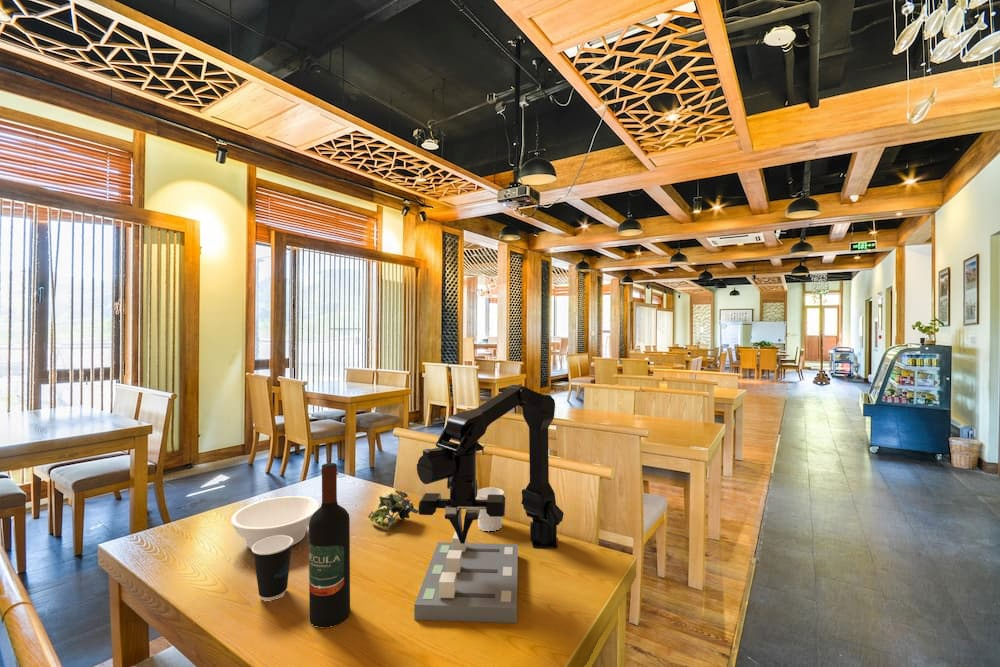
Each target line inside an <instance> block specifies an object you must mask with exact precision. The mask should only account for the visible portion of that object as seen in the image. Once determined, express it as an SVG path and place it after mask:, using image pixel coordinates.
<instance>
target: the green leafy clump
mask: <svg viewBox="0 0 1000 667" xmlns="http://www.w3.org/2000/svg"><path fill="white" fill-rule="evenodd" d="M395 493H396V494H395ZM395 493H392V492H391V493H389V494H386V495H385V496H381V495H379V496H378V497H379V502H380V503H379V504H378V507H377V509H376V510H375V511H372V510H371V511H370V513H369V515H368V519H370V521H371V522H375V523H376V521H377V522H378V520H379V519H380V526H381V527H384V521H385V519H387V523H388V526H387V529H386V531H387V530H389V529H390V527H391V525H392V524H393V522H395V521H396V518H397V517H399V519H400V520H405V519H410V513H411V512H412V514H413V513H414V514H419V509H415V508H414V503H412V502H410V501H411V499H408V498H409V494H408V493H406V492H405V491H402V490H395ZM405 498H406V499H405ZM382 507H383V508H382ZM390 512H391V513H390ZM396 513H397V514H396ZM394 514H395V516H394Z"/></svg>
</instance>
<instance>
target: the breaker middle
mask: <svg viewBox="0 0 1000 667" xmlns="http://www.w3.org/2000/svg"><path fill="white" fill-rule="evenodd" d="M461 566H462V550H449V551H448V554H447V557H446V572H455V573H460V570H461Z"/></svg>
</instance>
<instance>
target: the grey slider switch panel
mask: <svg viewBox="0 0 1000 667" xmlns="http://www.w3.org/2000/svg"><path fill="white" fill-rule="evenodd" d="M518 548H519V545H518V543H491V542H490V543H489V542H488V543H487V542H486V543H484V542H483V543H482V542H467V547H466V551H465V552H462V566H461V570H460V573H456V592H455V596H454V598H439V580H440V577H441V574H442V572H446V557H447V554H448V551H449V550H453V541H451V542H448V541H446V542H445V541H438V542H437V545H436V547H435V549H434V551H433V552H434V553H433V555H432V558H431V560H430V562H429V565H428V568H427V571H426V573H425V575H424V578H423V581H422V584H421V586H420V589H419V592H418V593H417V597H416V599H415V602H414V605H413V606H414V608H413V610H414V614H413V615H414V617H413V619H414V621H415V620H416V621H436V622H437V621H439V622H443V621H444V622H467V623H473V622H474V623H495V624H496V623H498V624H499V623H502V624H517V623H518V572H519V571H518V568H519V566H518V564H519V560H518V557H519V556H518V555H519V550H518Z"/></svg>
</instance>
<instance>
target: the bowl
mask: <svg viewBox="0 0 1000 667" xmlns="http://www.w3.org/2000/svg"><path fill="white" fill-rule="evenodd" d="M320 507H321V504H320V503H319V501H318V500H316V499H315V498H313V497H310V496H309V497H308V496H302V495H287V496H278V497H272V498H267V499H263V500H260V501H257V502H254V503H250V504H248V505H246V506H244V507H242V508H240V509H239V510H237V511H236V512H235V513H234V514H233V515H232V516H231V518H230V523H231V525H232V526H233V528H234V530H235V531H236V533H237V535H239V536H240V537H241V538H244V540H245V541H246V544H247V545H246V546H247V547H248V548H249V549H250V550H252V546H253V545H254V544H255V543H256V542H258V541H260V540H262V539H264V538H267V537H271V536H277V535H285V536H290V537H291V538H293V544H292V546H294V545H295V544H298V543H300V542H301V541H302V540H303V539H304V538H305V536H306V534H307V533H306V532H307V529H308V528H309V521H310V518H311V517H312V515H313V514H314V512H316V511H317V510H318V509H319V508H320Z"/></svg>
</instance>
